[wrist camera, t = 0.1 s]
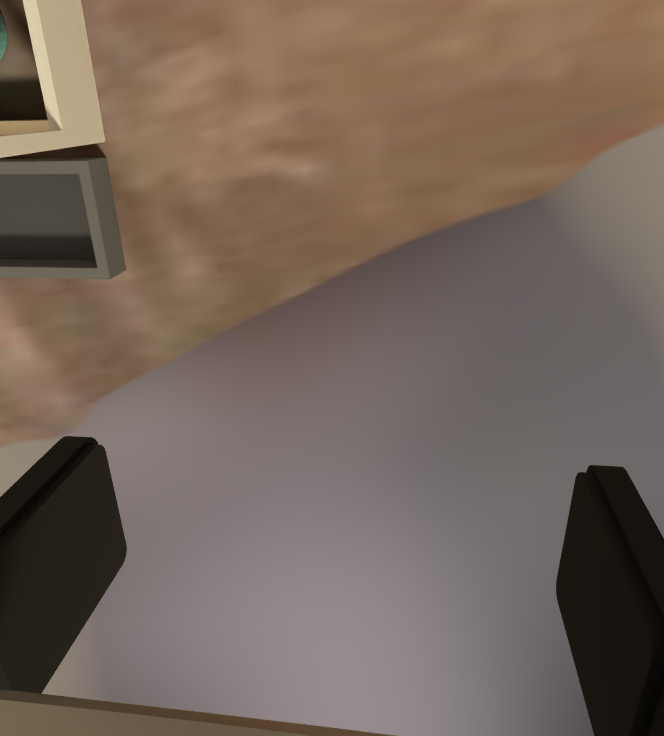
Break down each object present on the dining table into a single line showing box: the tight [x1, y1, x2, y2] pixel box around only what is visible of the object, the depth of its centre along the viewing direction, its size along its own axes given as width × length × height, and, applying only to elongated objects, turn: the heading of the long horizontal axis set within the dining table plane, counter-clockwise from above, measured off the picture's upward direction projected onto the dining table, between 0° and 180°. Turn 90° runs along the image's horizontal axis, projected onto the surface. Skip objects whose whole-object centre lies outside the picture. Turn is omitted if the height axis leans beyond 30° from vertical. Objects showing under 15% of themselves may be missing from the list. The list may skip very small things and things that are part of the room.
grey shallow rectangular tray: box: [0, 157, 126, 279], centre depth 42 cm, size 8×15×2 cm, turn 91°
